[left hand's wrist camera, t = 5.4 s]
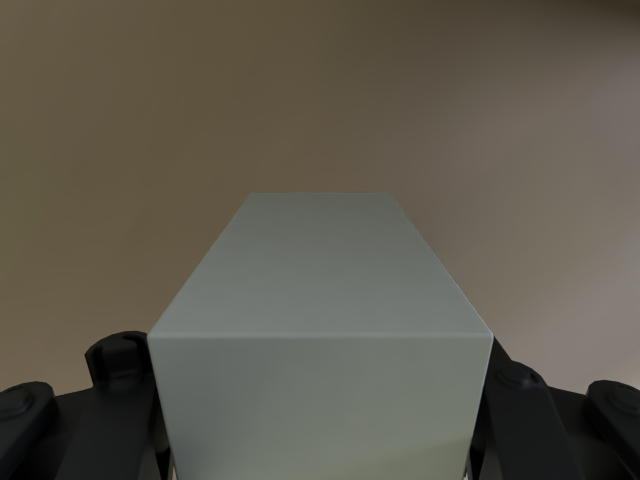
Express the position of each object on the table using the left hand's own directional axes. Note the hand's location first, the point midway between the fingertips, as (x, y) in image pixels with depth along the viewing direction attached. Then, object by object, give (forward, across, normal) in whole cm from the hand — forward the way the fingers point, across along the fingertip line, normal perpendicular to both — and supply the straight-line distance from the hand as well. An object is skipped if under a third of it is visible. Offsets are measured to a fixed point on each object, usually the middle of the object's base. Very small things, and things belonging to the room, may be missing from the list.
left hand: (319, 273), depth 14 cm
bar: (+1, 0, -10) cm, 10 cm away
